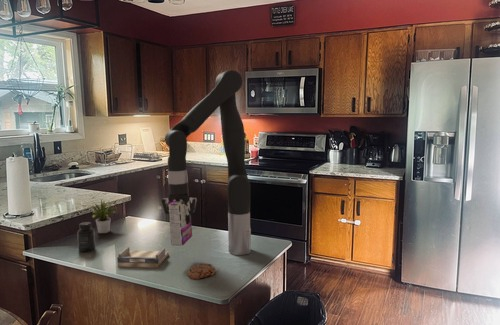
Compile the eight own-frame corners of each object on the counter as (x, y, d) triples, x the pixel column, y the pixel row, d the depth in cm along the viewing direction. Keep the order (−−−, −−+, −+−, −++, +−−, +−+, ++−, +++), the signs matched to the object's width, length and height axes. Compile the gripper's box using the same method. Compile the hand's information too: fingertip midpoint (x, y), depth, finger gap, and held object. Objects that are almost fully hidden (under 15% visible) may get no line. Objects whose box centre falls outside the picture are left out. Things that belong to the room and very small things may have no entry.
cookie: (181, 277, 137) (181, 269, 137) (197, 266, 147) (197, 259, 146) (205, 282, 133) (205, 274, 133) (220, 271, 143) (220, 263, 142)
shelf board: (168, 254, 158) (168, 244, 158) (157, 267, 145) (157, 256, 145) (131, 253, 160) (130, 243, 159) (117, 266, 147) (116, 255, 146)
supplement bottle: (99, 248, 166) (97, 222, 165) (86, 254, 160) (84, 226, 159) (87, 246, 169) (85, 220, 168) (74, 251, 163) (72, 224, 161)
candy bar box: (181, 236, 157) (178, 197, 155) (192, 236, 156) (190, 197, 154) (170, 245, 146) (167, 203, 144) (182, 246, 145) (180, 204, 143)
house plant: (102, 238, 179) (99, 204, 177) (81, 234, 185) (78, 202, 183) (123, 230, 192) (122, 198, 190) (103, 226, 198) (101, 196, 196)
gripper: (198, 179, 151) (200, 221, 153) (163, 180, 152) (165, 221, 154) (194, 183, 143) (196, 226, 146) (157, 183, 145) (160, 226, 147)
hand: (180, 223), depth 150 cm, fingers closed on candy bar box, 5 cm apart
